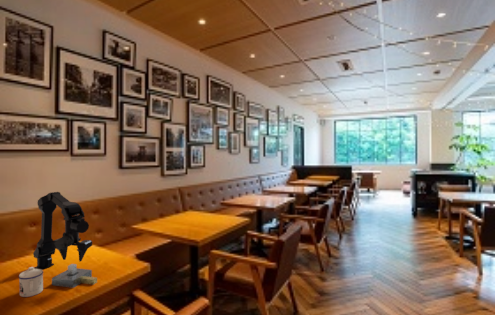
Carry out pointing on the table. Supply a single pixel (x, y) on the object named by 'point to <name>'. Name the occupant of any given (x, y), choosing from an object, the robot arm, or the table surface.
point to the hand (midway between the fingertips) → (72, 260)
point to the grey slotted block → (74, 278)
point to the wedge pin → (72, 270)
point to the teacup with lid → (31, 282)
